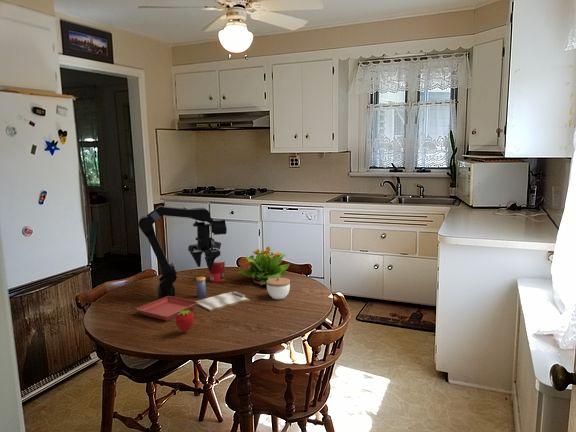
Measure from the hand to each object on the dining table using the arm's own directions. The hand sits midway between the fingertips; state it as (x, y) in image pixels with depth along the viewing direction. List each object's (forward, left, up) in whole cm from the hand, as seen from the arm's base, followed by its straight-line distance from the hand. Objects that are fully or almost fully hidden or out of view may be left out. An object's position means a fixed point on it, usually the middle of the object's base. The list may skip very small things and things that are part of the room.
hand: (204, 268), depth 205 cm
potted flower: (+32, -2, -12) cm, 34 cm away
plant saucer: (-23, -9, -13) cm, 28 cm away
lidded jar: (+22, -27, -12) cm, 37 cm away
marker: (-3, -2, -12) cm, 13 cm away
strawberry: (-28, -34, -12) cm, 46 cm away
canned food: (+16, +15, -12) cm, 25 cm away
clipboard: (0, -14, -12) cm, 19 cm away
